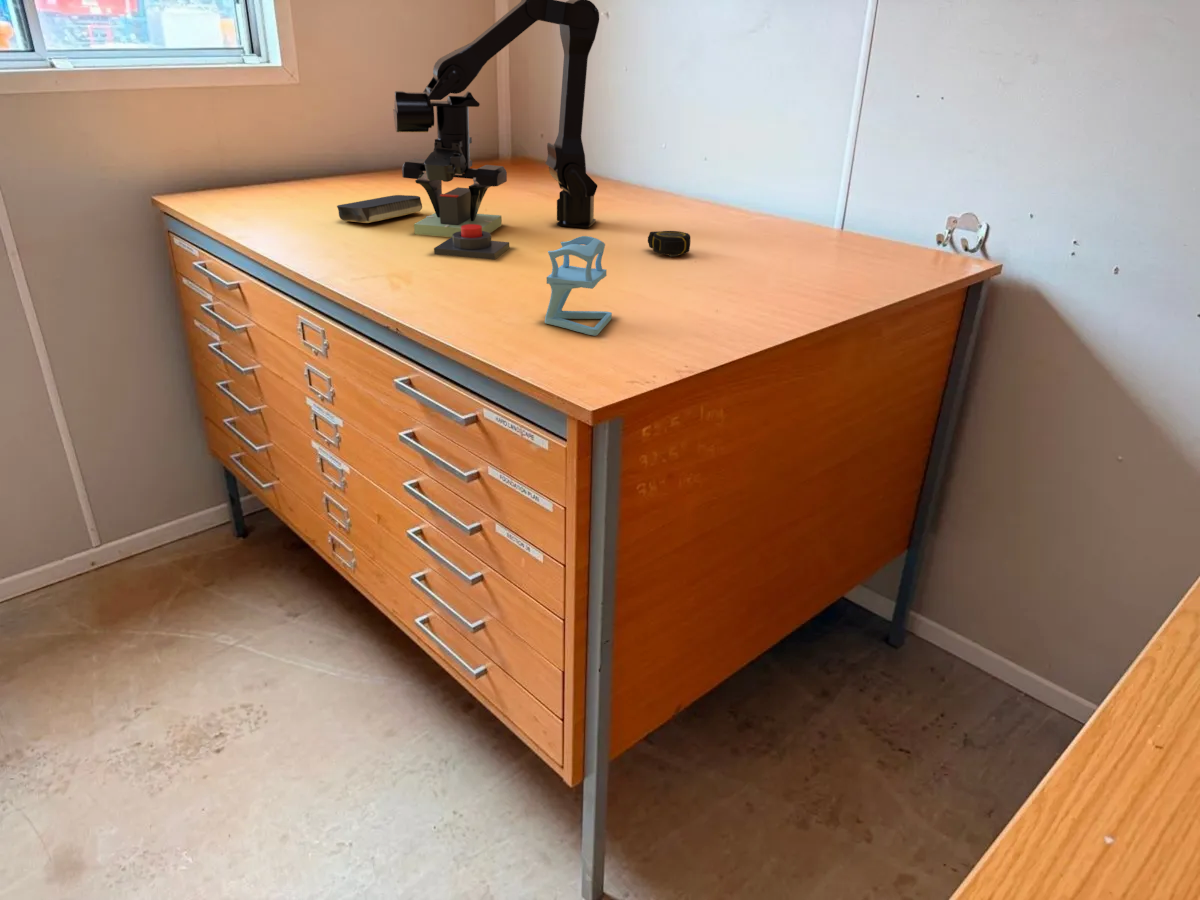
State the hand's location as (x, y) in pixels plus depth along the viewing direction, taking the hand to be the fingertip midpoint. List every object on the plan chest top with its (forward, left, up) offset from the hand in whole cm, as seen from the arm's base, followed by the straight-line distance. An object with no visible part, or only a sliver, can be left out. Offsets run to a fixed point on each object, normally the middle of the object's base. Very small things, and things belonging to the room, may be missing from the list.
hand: (456, 219), depth 166 cm
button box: (-9, +14, -2) cm, 16 cm away
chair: (-36, +45, -2) cm, 57 cm away
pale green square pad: (-1, 0, -2) cm, 2 cm away
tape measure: (-42, +4, -2) cm, 42 cm away
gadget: (-1, 0, 0) cm, 1 cm away
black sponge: (+17, -4, -2) cm, 18 cm away
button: (-9, +14, +1) cm, 16 cm away
